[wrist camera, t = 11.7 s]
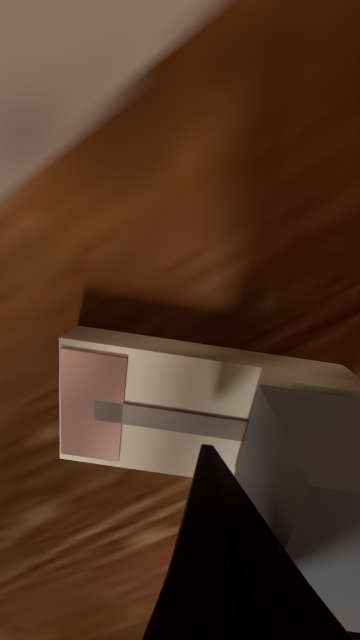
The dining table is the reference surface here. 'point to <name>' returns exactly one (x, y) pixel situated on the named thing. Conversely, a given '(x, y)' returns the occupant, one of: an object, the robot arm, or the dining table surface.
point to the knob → (309, 487)
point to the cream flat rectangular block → (169, 397)
